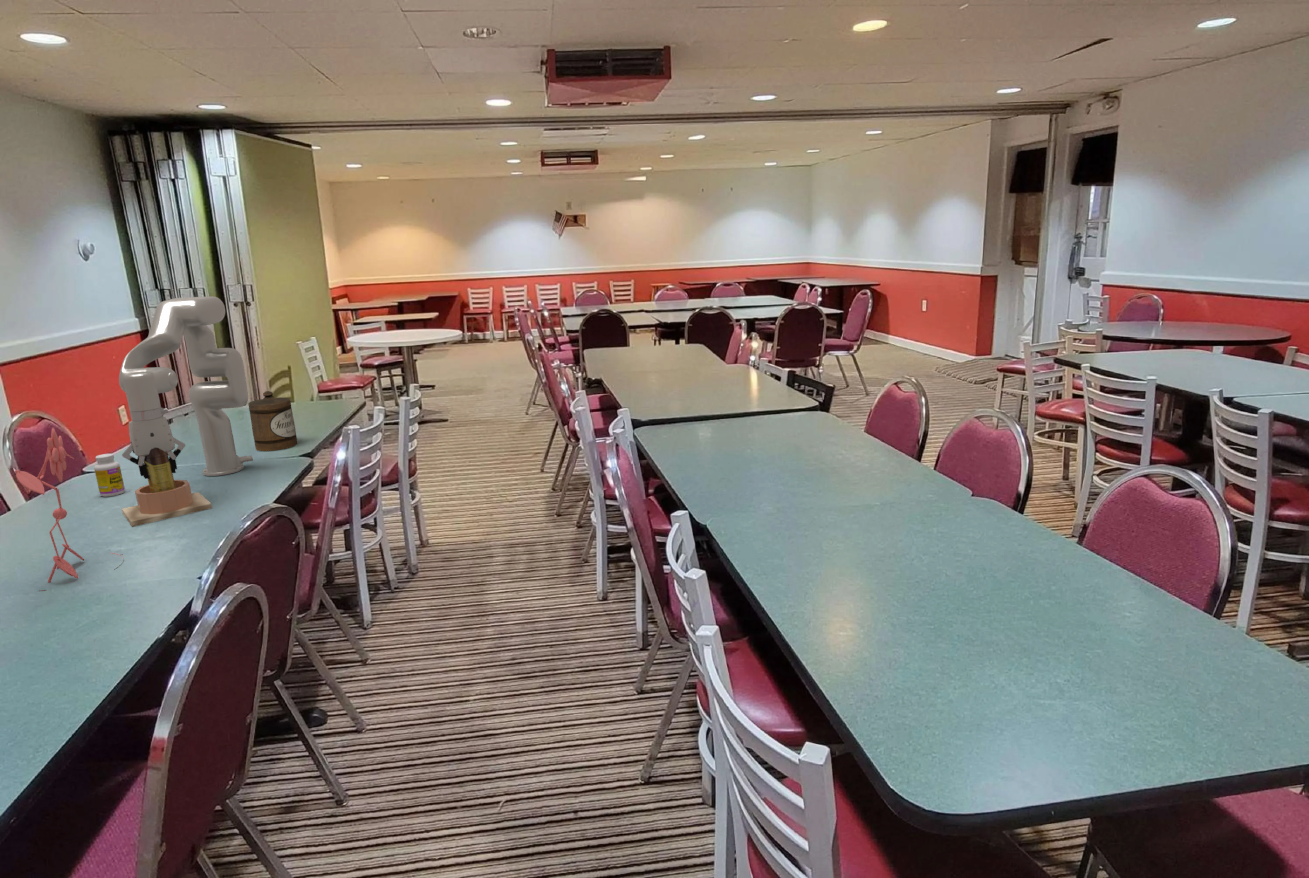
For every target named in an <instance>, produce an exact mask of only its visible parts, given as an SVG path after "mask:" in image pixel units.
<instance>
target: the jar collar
mask: <svg viewBox="0 0 1309 878" xmlns="http://www.w3.org/2000/svg"><path fill="white" fill-rule="evenodd" d="M174 482H175V489H173V490H168V491H164V492H157V493H151V491H150V487H149V484H146V485H143V486H141V487H140V486H139V488H137V489H135V490H134V495H135V499H136V502H137V505H138V508H139V511H140V512H141V513H142V514H158V513H166V512H170V511H175V510H179V509H181V508H184V507H187V506H189V505H190V504H191V503H192V502H193V498H192V493H193V492H192V489H191V483H190V482H189V481H188V480H186V479H185V480H184V479H174Z"/></svg>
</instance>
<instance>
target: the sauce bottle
mask: <svg viewBox="0 0 1309 878" xmlns="http://www.w3.org/2000/svg"><path fill="white" fill-rule="evenodd" d="M150 436H151V437H153V436H154V434H153V433H150ZM169 457H170V456H169V455H168V453H167V452H165V451H163V450H161V449H159V448H153V449H151V450H150V453H149V455H147V456H145V459H144V462H143V463H144V465H145V466H146V470H147V474H148V479H147V482H148V485H149V487H150V491H151V493H157V492H164V491H168V490H173V489H175V482H174V480H175V479H174V473H172V469H171V464H170V460H169Z"/></svg>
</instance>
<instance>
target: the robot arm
mask: <svg viewBox="0 0 1309 878" xmlns="http://www.w3.org/2000/svg"><path fill="white" fill-rule="evenodd" d="M225 316H226V307H225V304H224V302H223V301H222V300H221V298H219V297H217V296H213V295H212V296H188V297H184V296H183V297H176V298H175V297H174V298H170V299H165V300H163V301H161V302H159V303H158V304H157V306H156V308H155V310H154V314H153V318H152V322H151V325H150V327H149V332H148V336H147V337H146V338H145V339H143V340H141V342H139V343H138V344H137V345H135V346H134V347H133V348H132V349H131V350H130V351H129V352H128V353H127V354H126V355H125V357H124V358H123V360H122V363H121V367H120V369H119V375H118V384H119V387H120V389H121V390H122V391H123V392H124V393H125V396H126V401H127V404H128V409H129V414H130V418H131V420H130V421H129V422H128V436H129V440H130V445H129V446H127V448H125V450H124V451H123V452H122V454H121V456H122V458H125V459H126V460H128V461H130V462H131V463H133V464H135V465H137V466H138V469H139V474H140V476H141V477H143V478H144V479H146V480H148V474H147V470H146V466H145V465H144V459H145V456H147V455H149V453H150V450H151V449H153V448H159V449H161V450H163V451H165V452H167V453H168V457H169V460H170V464H171V469H172V473H173V474H176V473H177V472H176V470H178V465H177V460H176V459H177V457H178V456H179V455H180V454H181V452H182V451H183V450H184V449H185V447H186V443H185V442H182V441H181V440H179V439H178V438H175V437H174V435H173V433H172V429H171V427H170V424H169V422H168V418H167V417H166V416H164V415H165V414H167V413H169V411H168V410H169V409H168V408H164V407H162V406H161V400H160V396H159V394H163V393H170V392H171V391H173V390H174V389H175V388H176V387H177V385H178V382H179V379H178V375H177V373H176V372H175V371H174V370H173V369H172V368H169V367H165V366H158V367H155V366H154V367H146V366H147V365H149V364H150V363H152V362H154V361H155V360H158V359H162V358H164V357H166V356H168V355H170V354H173V353H175V352H176V351H178V350H179V349H180V347H181V344H182V341H183V340H182V339H183V337H184V341H185V346H186V352H187V358H188V365H189V369H190V371H191V374H192V375H193V376H195V377H197V378H219V377H226V379H227V380H208V381H200V382H196V383H194V384H193V385H191V386H190V388H189V390H188V398H189V401H190V403H191V406H192V408H193V411H194V413H195V416H196V421H197V425H198V431H199V435H200V440H201V446H202V450H203V456H204V460H205V465H206V468H204V469H203V470H202V472H201V473H202V475H203V476H207V477H218V476H224V475H230V474H234V473H237V472H240V471H242V470H244V468H245V467H244V463H246V462H247V463H248V462H252V461H254V457H253V456H252V455H242V456H239V455H237V450H236V446H235V445H236V444H235V440H234V433H233V429H232V423H231V420H230V418H229V416H228V415H227V414H226V412H225V411H223V409H236V408H237V409H238V408H242V407H245V406H246V405H247V403H248V402H249V391H248V384H247V377H246V370H245V365H244V360H243V357H242V354H241V353H240V352H239V351H238V350H237V349H235V348H232V347H220V348H218V347H217V345H216V339H215V335H214V332H213V330H212V329H211V328H210V327H209V325H214V324H218V323H221V322H222V321H223V320H224V318H225ZM150 433H153V434H154V436H153V437H151V436H150ZM176 445H177V447H176ZM173 450H174V451H173ZM131 453H133V454H134V455H135V456H137V458H136V457H134V456H132V455H131Z"/></svg>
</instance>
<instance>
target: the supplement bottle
mask: <svg viewBox="0 0 1309 878" xmlns="http://www.w3.org/2000/svg"><path fill="white" fill-rule="evenodd" d="M114 459H115V455H114V454H113V453H103V454H98V455H96V456H95V461H96V464H95V465H94V466H93V467H94V468H93V469H94V473H95V479H96V482H97V483H96V484H97V486H98V491H99V495H100V497H105V498H106V497H107V498H108V497H115V496H119V495H121V494H123V493H125V492H126V488H125V485H124V484H125V483H124V479H123V474H122V470H121V466H120V463H119V462H118V461H116V460H114Z"/></svg>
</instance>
